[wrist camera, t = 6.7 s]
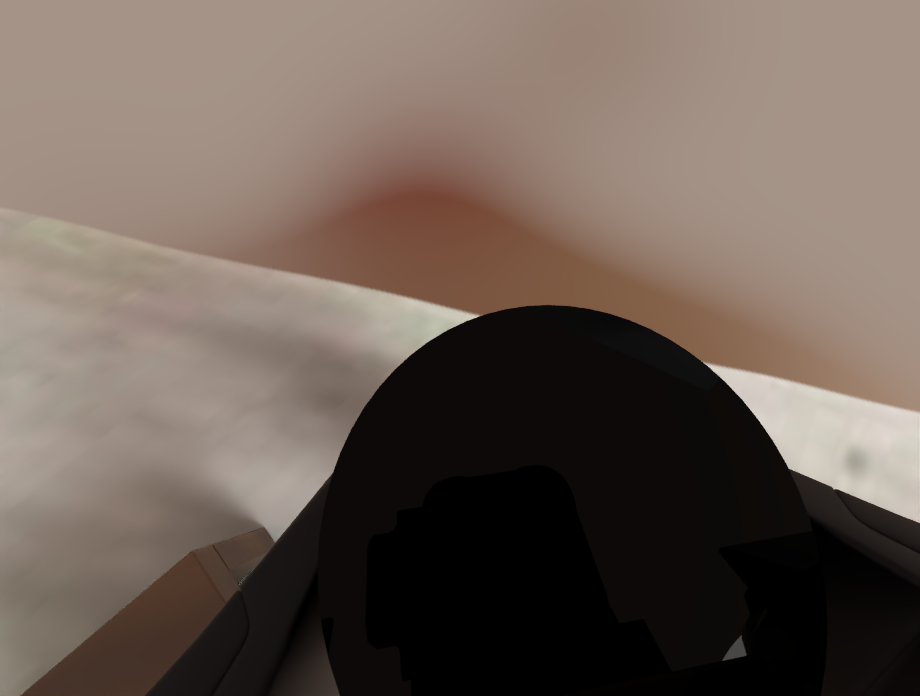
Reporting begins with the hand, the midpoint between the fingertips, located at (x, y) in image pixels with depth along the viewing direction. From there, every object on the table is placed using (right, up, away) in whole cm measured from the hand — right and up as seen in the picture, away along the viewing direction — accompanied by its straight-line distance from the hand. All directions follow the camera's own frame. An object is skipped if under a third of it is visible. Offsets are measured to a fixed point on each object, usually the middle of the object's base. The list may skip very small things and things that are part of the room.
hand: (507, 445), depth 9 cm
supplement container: (0, -4, +6) cm, 7 cm away
